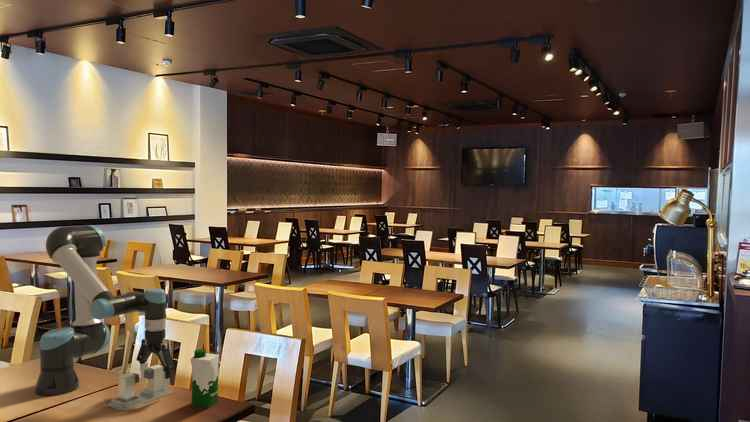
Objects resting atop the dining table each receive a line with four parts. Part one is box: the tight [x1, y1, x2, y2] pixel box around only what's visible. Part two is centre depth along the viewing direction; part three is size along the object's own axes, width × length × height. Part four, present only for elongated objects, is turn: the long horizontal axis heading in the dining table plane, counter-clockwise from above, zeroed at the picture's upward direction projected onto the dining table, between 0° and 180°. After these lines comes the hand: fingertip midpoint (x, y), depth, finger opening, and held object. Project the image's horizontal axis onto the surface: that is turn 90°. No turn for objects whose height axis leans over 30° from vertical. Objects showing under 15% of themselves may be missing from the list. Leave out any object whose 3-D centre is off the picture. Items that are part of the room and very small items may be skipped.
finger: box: [144, 364, 164, 393], centre depth 216 cm, size 6×4×10 cm, turn 147°
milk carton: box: [190, 348, 220, 409], centre depth 208 cm, size 9×9×20 cm
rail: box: [107, 372, 173, 412], centre depth 212 cm, size 8×22×11 cm, turn 147°
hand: (154, 383), depth 217 cm, fingers open, 13 cm apart
